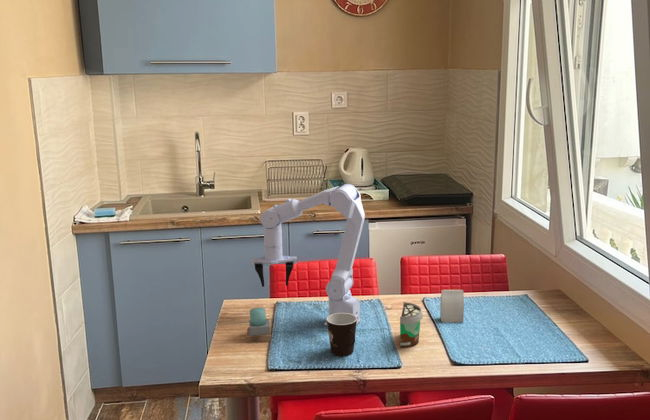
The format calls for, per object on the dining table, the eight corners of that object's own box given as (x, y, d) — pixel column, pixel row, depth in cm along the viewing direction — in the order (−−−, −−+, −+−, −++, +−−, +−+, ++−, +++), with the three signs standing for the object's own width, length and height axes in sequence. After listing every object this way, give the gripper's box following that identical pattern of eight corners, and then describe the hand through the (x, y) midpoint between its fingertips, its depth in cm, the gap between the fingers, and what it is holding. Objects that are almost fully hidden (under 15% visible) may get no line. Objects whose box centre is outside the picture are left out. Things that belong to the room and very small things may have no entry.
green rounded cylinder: (268, 320, 196) (267, 308, 195) (261, 326, 192) (260, 313, 191) (255, 319, 198) (254, 306, 197) (248, 325, 193) (246, 312, 193)
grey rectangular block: (463, 322, 203) (464, 292, 201) (441, 322, 203) (442, 292, 201) (461, 317, 207) (462, 288, 204) (440, 317, 207) (440, 288, 205)
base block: (270, 333, 199) (270, 326, 198) (270, 343, 192) (269, 335, 192) (248, 334, 199) (247, 327, 198) (246, 344, 192) (246, 336, 191)
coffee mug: (327, 344, 189) (326, 312, 187) (357, 344, 189) (356, 312, 187) (326, 363, 178) (325, 329, 176) (357, 363, 178) (357, 329, 175)
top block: (269, 326, 198) (268, 318, 198) (270, 334, 193) (269, 326, 192) (249, 327, 198) (249, 320, 197) (249, 335, 192) (249, 328, 191)
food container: (421, 351, 184) (421, 318, 181) (399, 349, 185) (399, 317, 183) (423, 333, 195) (424, 302, 193) (403, 332, 197) (403, 301, 194)
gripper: (249, 249, 202) (252, 290, 205) (296, 247, 203) (297, 288, 206) (250, 243, 209) (252, 283, 212) (295, 241, 210) (297, 281, 213)
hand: (275, 285), depth 209 cm, fingers open, 7 cm apart
